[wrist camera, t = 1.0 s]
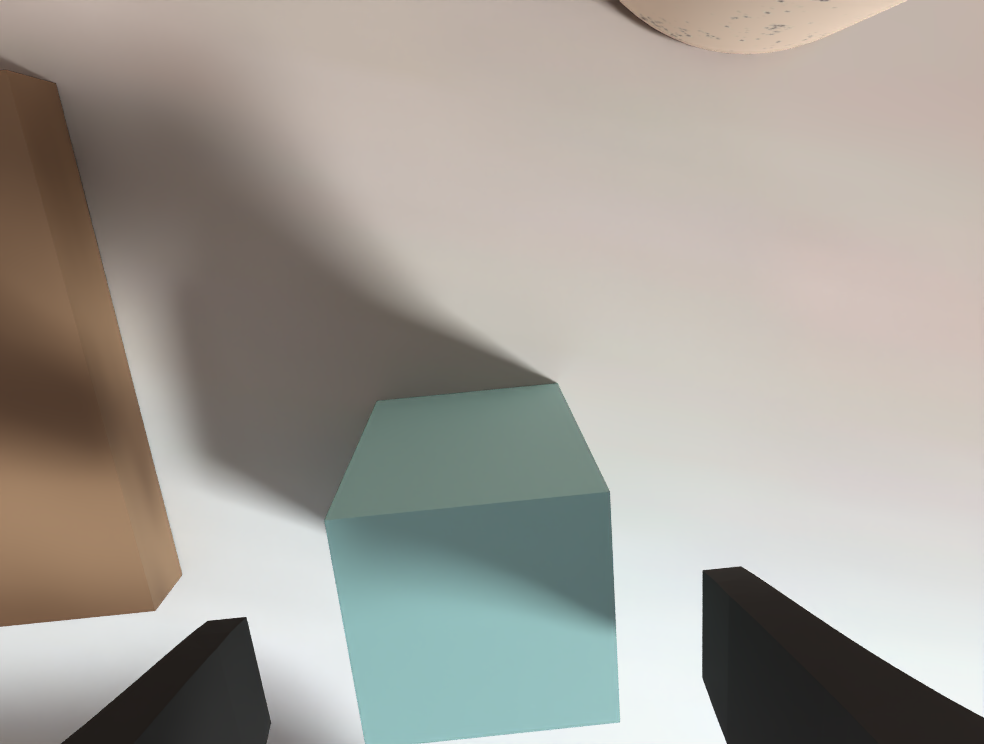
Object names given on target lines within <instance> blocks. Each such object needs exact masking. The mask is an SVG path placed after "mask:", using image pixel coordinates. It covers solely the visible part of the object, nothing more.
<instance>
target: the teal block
mask: <svg viewBox="0 0 984 744" xmlns="http://www.w3.org/2000/svg"><path fill="white" fill-rule="evenodd" d="M324 521H325V527H326V532H327V538H328V543H329V549H330V554H331V560H332V565H333V571H334V576H335V582H336V587H337V593H338V598H339V603H340V609H341V614H342V620H343V625H344V631H345V636H346V642H347V647H348V653H349V658H350V664H351V669H352V675H353V680H354V686H355V691H356V696H357V702H358V707H359V713H360V718H361V724H362V729H363V735H364V740H365V744H420V743H429V742H439V741H448V740H458V739H467V738H477V737H486V736H495V735H505V734H514V733H524V732H533V731H543V730H552V729H562V728H571V727H581V726H590V725H600V724H609V723H618V722H620V710H619V687H618V664H617V642H616V619H615V597H614V574H613V551H612V529H611V506H610V491H609V489H608V487H607V485H606V483H605V481H604V478H603V476H602V474H601V472H600V470H599V468H598V466H597V464H596V462H595V460H594V458H593V456H592V454H591V452H590V450H589V447H588V445H587V443H586V441H585V439H584V437H583V435H582V433H581V431H580V429H579V427H578V425H577V423H576V421H575V419H574V417H573V414H572V412H571V410H570V408H569V406H568V404H567V402H566V400H565V398H564V396H563V394H562V392H561V390H560V388H559V386H558V383H553V384H543V385H533V386H523V387H513V388H503V389H492V390H482V391H472V392H462V393H452V394H442V395H432V396H422V397H411V398H401V399H391V400H381V401H377V402H376V404H375V406H374V409H373V411H372V413H371V416H370V418H369V420H368V422H367V425H366V427H365V429H364V431H363V434H362V436H361V438H360V441H359V443H358V445H357V447H356V450H355V452H354V454H353V456H352V459H351V461H350V463H349V466H348V468H347V470H346V472H345V475H344V477H343V479H342V481H341V484H340V486H339V488H338V491H337V493H336V495H335V497H334V500H333V502H332V504H331V506H330V509H329V511H328V513H327V516H326V518H325V520H324Z"/></svg>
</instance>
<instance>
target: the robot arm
mask: <svg viewBox="0 0 984 744" xmlns="http://www.w3.org/2000/svg"><path fill="white" fill-rule="evenodd" d="M702 678H703V681H704V683H705V686H706V689H707V692H708V695H709V697H710V700H711V703H712V706H713V708H714V711H715V714H716V716H717V719H718V722H719V724H720V727H721V729H722V732H723V735H724V737H725V740H726V742H727V744H984V718H983V717H982V716H980V715H978V714H976V713H974V712H972V711H970V710H968V709H967V708H965V707H963V706H961V705H959V704H957V703H956V702H954V701H952V700H950V699H948V698H947V697H945V696H943V695H941V694H940V693H938V692H936V691H935V690H933V689H931V688H929V687H928V686H926V685H924V684H923V683H921V682H919V681H918V680H916V679H914V678H912V677H911V676H909V675H907V674H906V673H904V672H902V671H901V670H899V669H897V668H895V667H894V666H892V665H891V664H889V663H887V662H886V661H884V660H882V659H881V658H879V657H878V656H876V655H874V654H873V653H871V652H870V651H868V650H866V649H865V648H863V647H862V646H860V645H859V644H857V643H855V642H854V641H852V640H851V639H849V638H848V637H846V636H845V635H843V634H842V633H840V632H839V631H837V630H835V629H834V628H832V627H831V626H829V625H828V624H826V623H825V622H823V621H822V620H820V619H819V618H817V617H816V616H814V615H813V614H811V613H810V612H809V611H807V610H806V609H804V608H803V607H801V606H800V605H798V604H797V603H795V602H794V601H792V600H791V599H789V598H788V597H786V596H785V595H784V594H782V593H781V592H779V591H778V590H776V589H775V588H773V587H772V586H770V585H769V584H767V583H766V582H764V581H763V580H761V579H760V578H758V577H757V576H755V575H754V574H752V573H751V572H749V571H748V570H746V569H744V568H743V567H741V566H740V567H731V568H721V569H711V570H703V628H702ZM270 725H271V720H270V716H269V712H268V708H267V703H266V699H265V695H264V690H263V686H262V682H261V678H260V673H259V669H258V665H257V660H256V656H255V652H254V648H253V643H252V639H251V635H250V630H249V626H248V622H247V618H246V617H241V618H231V619H222V620H212V621H207V622H206V623H204V624H203V625H202V626H200V627H199V628H198V629H196V630H195V631H194V632H193V633H191V634H190V635H189V636H188V637H187V638H185V639H184V640H183V641H182V642H181V643H179V644H178V645H177V646H176V647H175V648H174V649H172V650H171V651H170V652H169V653H168V654H167V655H165V656H164V657H163V658H162V659H161V660H160V661H158V662H157V663H156V664H155V665H154V666H153V667H151V668H150V669H149V670H148V671H147V672H146V673H145V674H143V675H142V676H141V677H140V678H139V679H138V680H136V681H135V682H134V683H133V684H132V685H131V686H129V687H128V688H127V689H126V690H125V691H124V692H122V693H121V694H120V695H119V696H118V697H117V698H115V699H114V700H113V701H112V702H111V703H109V704H108V705H107V706H106V707H105V708H104V709H102V710H101V711H100V712H99V713H98V714H97V715H95V716H94V717H93V718H92V719H91V720H90V721H88V722H87V723H86V724H85V725H84V726H82V727H81V728H80V729H79V730H77V731H76V732H75V733H74V734H72V735H71V736H70V737H69V738H67V739H66V740H65V741H64V742H62V743H61V744H266V742H267V738H268V734H269V729H270Z"/></svg>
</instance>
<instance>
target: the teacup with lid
mask: <svg viewBox="0 0 984 744" xmlns="http://www.w3.org/2000/svg"><path fill="white" fill-rule="evenodd" d="M619 1H620V2H621V3H622V4H623V5H624V6H625V7H627V8H628V9H629V10H630V11H631V12H633V13H634V14H635V15H636V16H637V17H638V18H640V19H641V20H643V21H644V22H646V23H647V24H649V25H650V26H652V27H653V28H655V29H656V30H658V31H660V32H662V33H664V34H666V35H668V36H669V37H671V38H674V39H676V40H679V41H681V42H684V43H686V44H689V45H692V46H695V47H699V48H702V49H706V50H710V51H717V52H723V53H734V54H757V53H769V52H775V51H780V50H786V49H791V48H795V47H798V46H802V45H805V44H809V43H811V42H814V41H816V40H819V39H821V38H824V37H826V36H829V35H831V34H833V33H836V32H838V31H840V30H842V29H845V28H847V27H849V26H851V25H854V24H856V23H858V22H860V21H863V20H865V19H867V18H869V17H872V16H874V15H876V14H878V13H880V12H883V11H885V10H887V9H889V8H892V7H894V6H896V5H898V4H901V3H903V2H905V1H907V0H619Z"/></svg>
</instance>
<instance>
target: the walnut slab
mask: <svg viewBox="0 0 984 744" xmlns="http://www.w3.org/2000/svg"><path fill="white" fill-rule="evenodd" d="M181 576H182V572H181V568H180V564H179V560H178V556H177V552H176V548H175V544H174V541H173V537H172V533H171V529H170V525H169V521H168V517H167V513H166V510H165V506H164V502H163V498H162V494H161V490H160V486H159V482H158V478H157V475H156V471H155V467H154V463H153V459H152V455H151V451H150V447H149V443H148V440H147V436H146V432H145V428H144V424H143V420H142V416H141V412H140V409H139V405H138V401H137V397H136V393H135V389H134V385H133V381H132V377H131V374H130V370H129V366H128V362H127V358H126V354H125V350H124V346H123V342H122V339H121V335H120V331H119V327H118V323H117V319H116V315H115V311H114V307H113V304H112V300H111V296H110V292H109V288H108V284H107V280H106V276H105V273H104V269H103V265H102V261H101V257H100V253H99V249H98V245H97V241H96V238H95V234H94V230H93V226H92V222H91V218H90V214H89V210H88V206H87V203H86V199H85V195H84V191H83V187H82V183H81V179H80V175H79V171H78V168H77V164H76V160H75V156H74V152H73V148H72V144H71V140H70V137H69V133H68V129H67V125H66V121H65V117H64V113H63V109H62V105H61V102H60V98H59V94H58V90H57V86H56V83H52V82H49V81H45V80H41V79H38V78H34V77H30V76H27V75H23V74H20V73H16V72H12V71H9V70H0V627H2V626H12V625H22V624H32V623H42V622H51V621H61V620H71V619H81V618H90V617H100V616H110V615H120V614H130V613H139V612H149V611H156V609H157V608H158V607H159V605H160V604H161V603H162V601H163V600H164V599H165V597H166V596H167V595H168V593H169V592H170V591H171V589H172V588H173V587H174V585H175V584H176V583H177V581H178V580H179V579H180V577H181Z"/></svg>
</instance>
